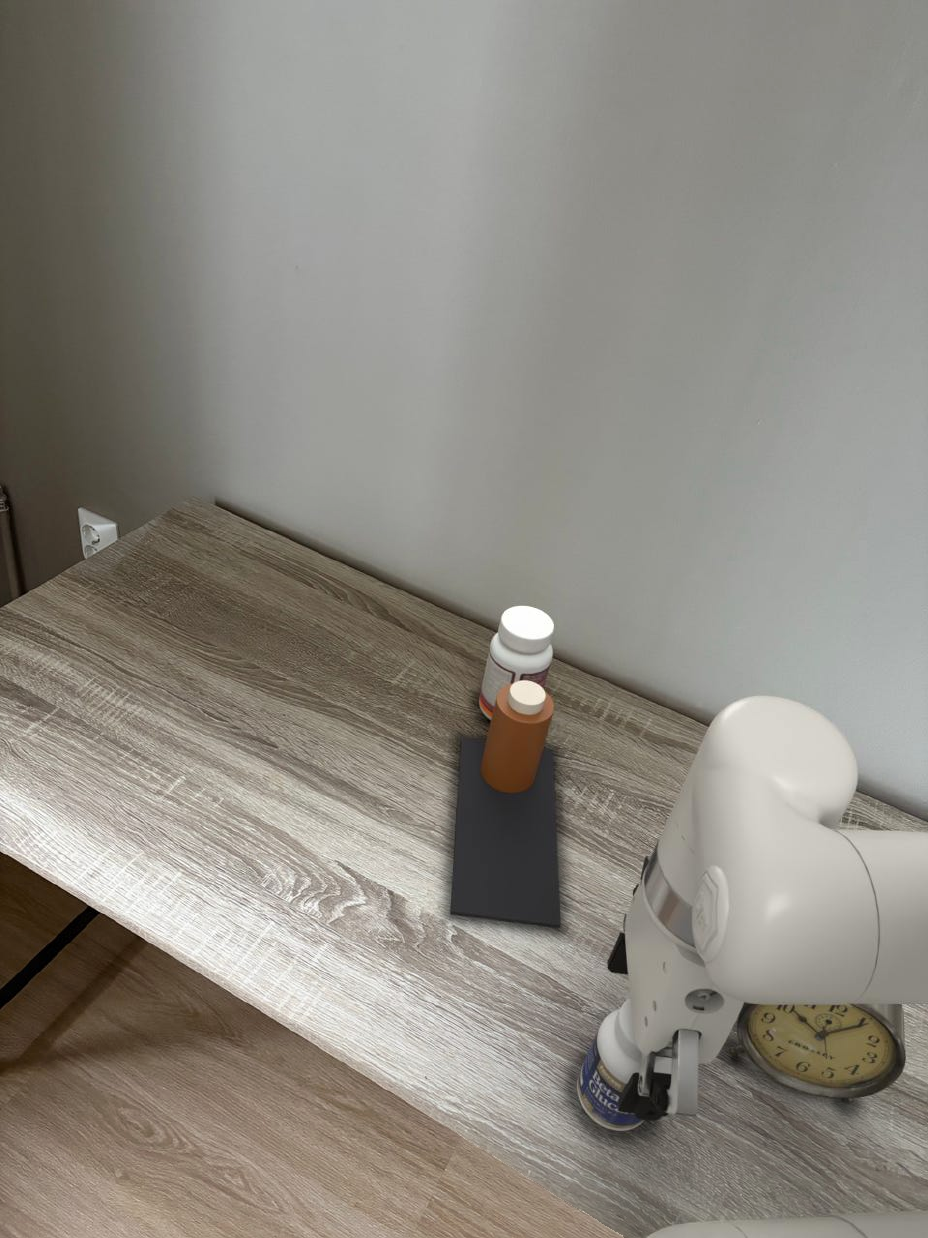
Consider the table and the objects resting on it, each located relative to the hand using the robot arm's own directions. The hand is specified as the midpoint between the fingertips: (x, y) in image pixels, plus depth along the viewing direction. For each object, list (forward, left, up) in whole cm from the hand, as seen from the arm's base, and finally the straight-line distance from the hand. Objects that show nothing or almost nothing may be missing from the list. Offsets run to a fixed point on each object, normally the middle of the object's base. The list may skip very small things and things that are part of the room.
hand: (634, 1036), depth 66 cm
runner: (+20, +12, -7) cm, 25 cm away
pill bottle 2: (-1, 0, -7) cm, 7 cm away
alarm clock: (+6, -13, -7) cm, 16 cm away
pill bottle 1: (+35, +16, -7) cm, 39 cm away
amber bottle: (+26, +14, -6) cm, 30 cm away
